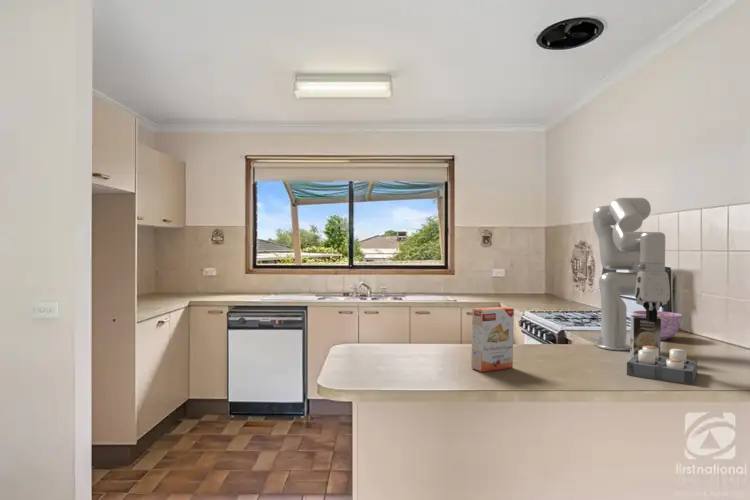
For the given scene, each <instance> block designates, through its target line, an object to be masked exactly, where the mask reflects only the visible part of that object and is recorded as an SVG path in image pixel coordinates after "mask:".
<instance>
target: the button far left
mask: <svg viewBox="0 0 750 500" xmlns="http://www.w3.org/2000/svg"><path fill="white" fill-rule="evenodd" d="M643 349H646V350H652V351H654V352H655V360H657V361H659V348H657V347H655V346H644V347H643Z"/></svg>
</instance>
